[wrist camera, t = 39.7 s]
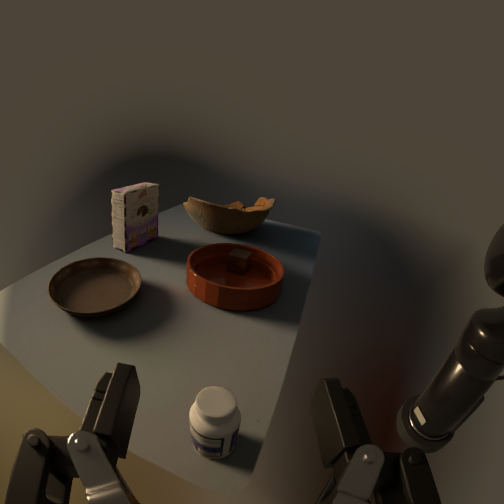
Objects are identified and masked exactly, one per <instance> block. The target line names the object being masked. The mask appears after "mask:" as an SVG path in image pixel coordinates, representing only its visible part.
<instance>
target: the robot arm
mask: <svg viewBox="0 0 504 504" xmlns="http://www.w3.org/2000/svg"><path fill="white" fill-rule="evenodd" d="M484 274H485V279H486V281H487V283H488V285H489V286H490V287H491V289H492V290H493V291H494V292H496V293H497V294H499V295H501V296H502V297H504V224H503V225H502V226H501V227H500V228H499V230H498V231H497V232H496V234H495V235H494V237H493V239H492V241H491V243H490V245H489V247H488V250H487V253H486V257H485V263H484ZM503 369H504V306H503V307H499V308H483V309H479V310H477V311H475V312H474V313H473V314H472V316H471V318H470V319H469V321H468V323H467V325H466V327H465V329H464V330H463V332H462V334H461V336H460V337H459V339H458V341H457V342H456V344H455V346H454V347H453V349H452V350H451V352H450V354H449V355H448V357H447V358H446V360H445V361H444V363H443V364H442V366H441V367H440V369H439V370H438V372H437V373H436V374H435V376H434V377H433V379H432V380H431V382H430V383H429V384H428V386H427V387H426V388H425V389H424V391H423V392H422V393H421V395H420V396H419V397H418V398H417V400H416V401H415V402H414V403H413V404H412V405H411V406H410V408H409V411H408V421H409V424H410V427H411V428H412V430H413V431H414V432H415V433H416V434H417V435H418V436H419V437H421V438H422V439H424V440H427V441H439V440H441V439H443V438H445V437H446V436H447V435H449V436H450V435H452V434H453V433H454V432H455V431H456V430H457V429H458V428H459V427H460V426H461V425H462V424H463V423H464V422H465V421H466V420H467V418H469V416H470V415H471V414H472V413H473V412H474V411H475V410H476V409H477V408H478V407H479V406H480V404H481V403H482V402H483V401H484V394H485V393H486V392H487V390H488V389H489V388H490V387H491V385H492V384H493V383H494V382H495V381H496V380H501V379H504V376H499V375H500V373H501V372H502V371H503ZM139 398H140V385H139V381H138V376H137V372H136V368H135V366H133V365H128V364H122V363H117V365H116V367H115V369H114V372H113V374H112V373H108V372H106V373H105V374H104V375H103V376H102V377H101V378H100V379H99V380H98V382H97V384H96V387H95V389H94V392H93V394H92V397H91V399H90V402H89V405H88V407H87V410H86V413H85V416H84V418H83V421H82V424H81V427H80V429H79V430H78V431H77V432H75V433H73V434H72V435H70V436H47V435H46V434H45V432H43V431H42V430H40V429H37V428H31V429H28V430H27V431H26V432H25V433H24V434H23V436H22V439H21V442H20V445H19V448H18V451H17V455H16V458H15V462H14V465H13V469H12V472H11V476H10V481H9V485H8V490H7V494H6V500H5V504H69V498H70V492H71V486H72V480H73V478H80V480H81V482H82V484H83V486H84V488H85V490H86V499H87V501H88V503H89V504H140V503H139V502H138V500H137V499H136V498H135V496H134V495H133V493H132V492H131V490H130V488H129V487H128V485H127V483H126V482H125V480H124V478H123V477H122V475H121V473H120V472H119V470H118V468H117V466H116V464H117V460H118V457H119V458H123V459H125V458H126V454H127V449H128V444H129V440H130V435H131V431H132V427H133V422H134V418H135V414H136V410H137V406H138V402H139ZM310 409H311V414H312V418H313V423H314V427H315V431H316V435H317V440H318V444H319V448H320V452H321V457H322V461H323V466H324V468H330V467H332V468H333V474H332V475H331V477H330V478H329V480H328V482H327V483H326V485H325V487H324V488H323V490H322V492H321V493H320V495H319V497H318V498H317V500H316V501H315V503H314V504H371V502H369V497H370V495H371V492H372V490H373V492H374V497H375V502H376V504H441V501H440V498H439V494H438V491H437V488H436V485H435V482H434V479H433V475H432V472H431V469H430V467H429V464H428V461H427V458H426V455H425V453H424V452H423V451H422V450H421V449H419V448H416V447H410V448H408V449H406V450H405V451H404V452H402V453H394V452H384V451H382V450H381V449H380V448H379V447H377V446H375V445H373V444H372V442H371V440H370V437H369V434H368V431H367V428H366V426H365V423H364V420H363V417H362V415H361V412H360V409H359V408H358V404H357V401H356V398H355V396H354V395H353V394H352V393H351V392H350V391H349V389H342V387H341V384H340V381H339V379H338V378H327V379H320V381H319V383H318V385H317V387H316V389H315V391H314V393H313V395H312V397H311V401H310Z"/></svg>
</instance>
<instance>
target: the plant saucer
mask: <svg viewBox="0 0 504 504" xmlns="http://www.w3.org/2000/svg"><path fill="white" fill-rule="evenodd" d="M140 286H141V275H140V273H139V271H138V270H137V269H136V268H135V267H134V266H132V265H131V264H129V263H127V262H125V261H122V260H118V259H114V258H105V257H96V258H87V259H82V260H78V261H75V262H73V263H70V264H68V265H66V266H64V267H63V268H61V269H60V270H58V271H57V272H56V273H55V274H54V275H53V277H52V278H51V280H50V282H49V284H48V294H49V297H50V299H51V300H52V301H53V302H54V303H55V304H56V305H57V306H58V307H59V308H61V309H62V310H64V311H66V312H68V313H70V314H73V315H76V316H81V317H100V316H105V315H108V314H111V313H114V312H116V311H118V310H119V309H121V308H123V307H124V306H126V305H127V304H128V303H129V302H130V301H131V300H132V299H133V298H134V297H135V295H136V294H137V292H138V290H139V288H140Z"/></svg>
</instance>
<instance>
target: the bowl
mask: <svg viewBox="0 0 504 504" xmlns="http://www.w3.org/2000/svg"><path fill="white" fill-rule="evenodd" d="M235 248H238V249H242V250H246V251H249V252H252V259H251V266H250V269H249V270H248V272H247V273H246V274H245V275H244V276H242V275H239V274H235V273H232V272H228V271H227V262H228V254H229V253H230V252H231V251H232V250H234V249H235ZM284 272H285V269H284V266H283V265H282V263H281V262H280V261H279V260H278V259H277V258H276V257H275V256H273V255H271V254H270V253H268V252H266V251H263V250H261V249H258V248H255V247H251V246H247V245H241V244H233V243H216V244H210V245H205V246H202V247H199V248H197V249H196V250H194V251H192V252H191V253H190V255H189V256H188V258H187V273H186V283H187V286H188V288H189V290H190V291H191V292H192V293H193V295H194V296H196V297H197V298H199V299H200V300H202V301H203V302H205V303H208V304H210V305H213V306H215V307H218V308H224V309H229V310H253V309H259V308H262V307H265V306H268V305H270V304H271V303H272V302H274V301H275V300H276V299H277V298H278V296H279V295H280V292H281V288H282V283H283V279H284Z"/></svg>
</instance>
